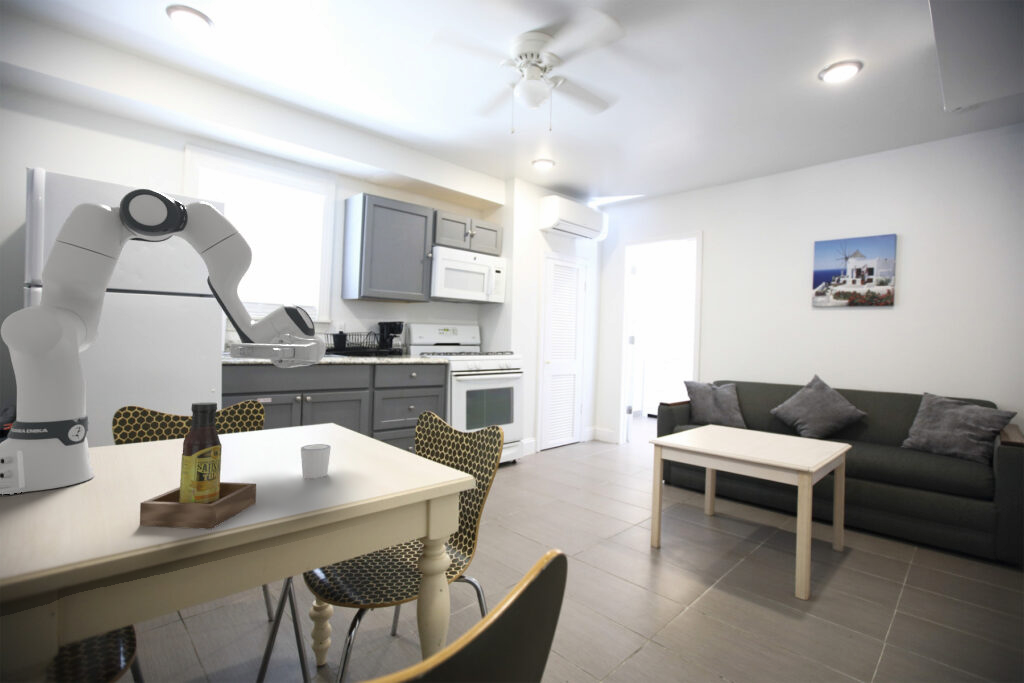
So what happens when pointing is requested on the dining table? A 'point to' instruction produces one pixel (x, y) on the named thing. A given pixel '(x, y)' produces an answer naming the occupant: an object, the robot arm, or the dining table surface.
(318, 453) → the white cup
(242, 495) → the brown wooden tray
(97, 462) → the dining table surface
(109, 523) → the dining table surface
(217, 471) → the sauce bottle
